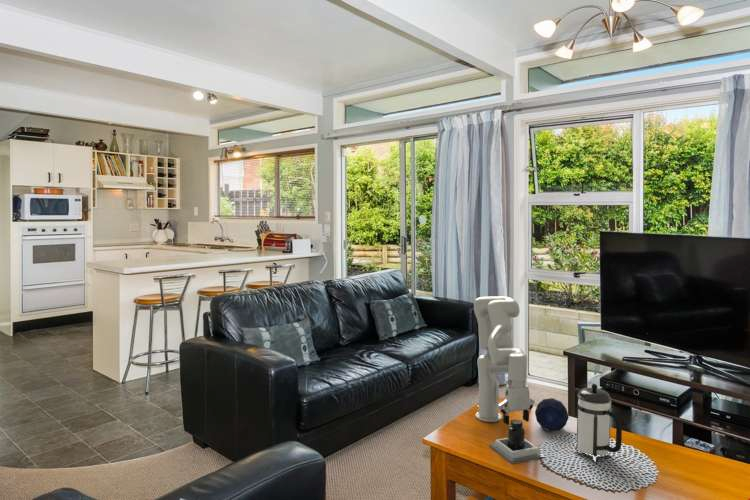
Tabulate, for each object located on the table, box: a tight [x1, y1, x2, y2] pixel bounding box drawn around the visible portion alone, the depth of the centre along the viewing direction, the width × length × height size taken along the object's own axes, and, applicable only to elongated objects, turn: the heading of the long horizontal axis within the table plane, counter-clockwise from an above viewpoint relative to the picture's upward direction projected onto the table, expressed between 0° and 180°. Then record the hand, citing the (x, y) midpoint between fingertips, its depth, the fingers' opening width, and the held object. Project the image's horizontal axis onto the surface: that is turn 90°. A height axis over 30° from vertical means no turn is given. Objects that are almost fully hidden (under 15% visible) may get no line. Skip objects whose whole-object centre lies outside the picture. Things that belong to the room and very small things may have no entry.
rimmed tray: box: [488, 437, 541, 465], centre depth 210 cm, size 16×16×4 cm
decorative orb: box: [534, 397, 570, 432], centre depth 233 cm, size 14×15×15 cm
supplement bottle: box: [507, 419, 526, 451], centre depth 210 cm, size 7×7×12 cm
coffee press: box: [575, 383, 623, 456], centre depth 206 cm, size 17×16×30 cm
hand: (516, 422), depth 210 cm, fingers open, 9 cm apart
